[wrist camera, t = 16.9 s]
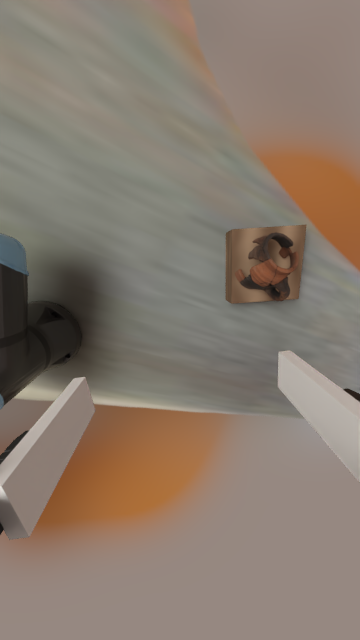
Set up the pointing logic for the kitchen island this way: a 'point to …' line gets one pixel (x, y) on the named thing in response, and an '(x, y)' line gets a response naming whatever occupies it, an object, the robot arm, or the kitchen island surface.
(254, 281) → the brown piece
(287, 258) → the walnut riser block
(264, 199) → the kitchen island surface
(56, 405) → the robot arm
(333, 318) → the kitchen island surface
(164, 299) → the kitchen island surface
